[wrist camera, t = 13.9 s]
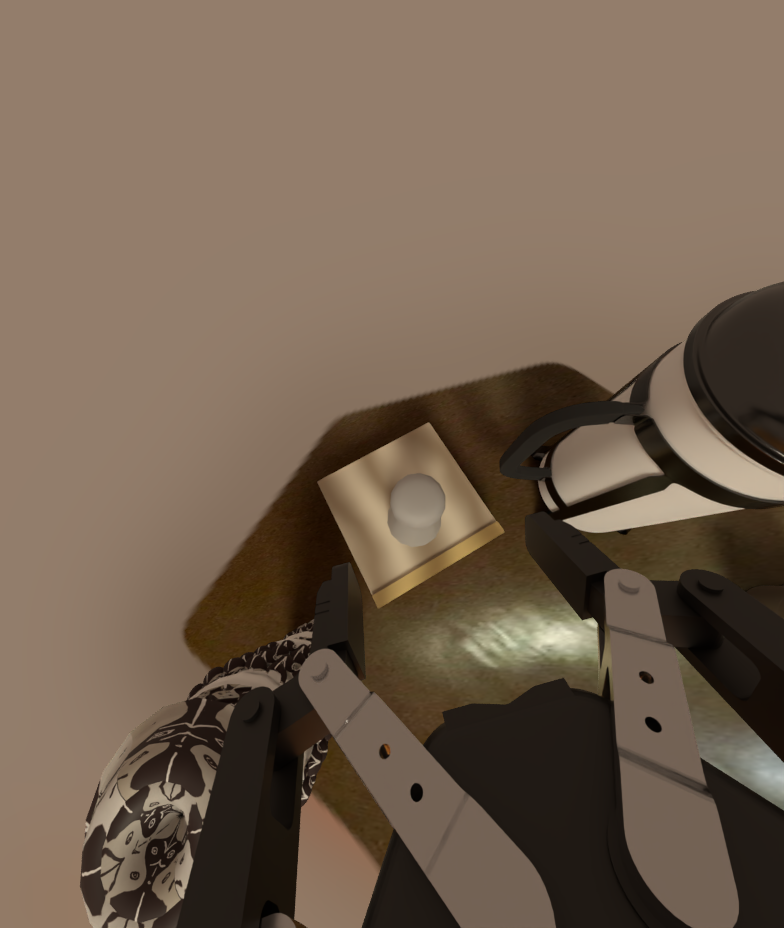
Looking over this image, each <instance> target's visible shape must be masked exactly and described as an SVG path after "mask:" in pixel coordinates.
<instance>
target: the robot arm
mask: <svg viewBox="0 0 784 928" xmlns="http://www.w3.org/2000/svg"><path fill="white" fill-rule="evenodd" d="M525 540H526V546H527V549H528V551H529V553H530V555H531V556H532V558H533V559H534V560H535V561H536V563H537V564H538V565H539V566H540V568H541V569H542V570H543V571H544V573H545V574H546V575H547V576H548V578H549V579H550V580H551V581H552V583H553V584H554V585H555V587H556V588H557V589H558V590H559V592H560V593H561V594H562V595H563V597H564V598H565V599H566V600H567V602H568V603H569V604H570V605H571V607H572V608H573V609H574V610H575V612H576V613H577V614H578V616H579V617H580V618H581V619H582V620H585V619H588V618H592V617H593V618H594V619H595V620H596V622H597V623H598V627H597V634H598V670H599V680H598V695H597V694H595V693H592V692H589V691H585V690H581V689H575V688H570V687H569V686H568V684H567V682H566V681H565V679H564V678H562V679H558V680H554V681H551V682H547V683H544V684H540V685H537V686H534V687H532V688H531V689H529V690H528V691H527V692H525V693H524V694H522V695H521V696H519V697H518V698H517V699H515V700H514V701H512V702H511V703H509V704H506V705H500V704H469V705H465V706H462V707H458V708H455V709H451V710H448V711H444V712H442V713H443V717H444V721H445V722H444V723H443V724H441V725H440V726H439V727H438V728H437V729H436V730H434V731H433V732H432V734H431V735H430V736H429V737H428V739H427V740H426V742H425V743H424V745H422V744H421V743H420V742H419V741H418V740H417V739H416V737H415V736H414V735H413V734H412V733H411V732H410V731H409V730H408V729H407V727H406V726H405V725H404V724H403V723H402V722H401V721H400V720H399V719H398V717H397V716H396V715H395V714H394V713H393V712H392V711H391V710H390V709H389V707H388V706H387V705H386V704H385V703H384V702H383V701H382V700H381V699H380V697H379V696H378V695H377V694H375V693H374V692H370V691H369V690H368V689H367V688H366V687H365V686H364V685H363V683H362V682H361V681H360V680H364V679H366V675H365V654H364V633H363V611H362V596H361V591H360V587H359V584H358V582H357V579H356V576H355V574H354V571H353V569H352V566H351V564H350V562H348V563H344V564H341V565H337V566H333V568H332V578H331V580H329V581H325V582H323V583H322V585H321V587H320V589H319V591H318V593H317V599H316V607H315V616H314V624H313V633H312V641H311V649H310V655H309V657H308V658H307V659H306V660H305V662H304V663H303V665H302V667H301V669H300V672H299V673H298V674H297V675H296V676H295V677H293V678H292V679H291V680H289V681H287V682H286V683H284V684H283V685H281V686H279V687H278V688H276V689H275V690H273V691H272V690H271V689H270V688H268V687H264V686H261V687H257V688H254V689H252V690H251V691H249V692H248V693H247V694H245V695H244V696H243V697H242V698H241V699H240V701H239V702H238V703H237V705H236V706H235V708H234V710H233V712H232V714H231V717H230V720H229V724H228V728H227V732H226V736H225V740H224V744H223V747H222V751H221V755H220V759H219V763H218V767H217V771H216V775H215V779H214V782H213V786H212V790H211V794H210V798H209V802H208V806H207V810H206V814H205V817H204V821H203V825H202V829H201V833H200V837H199V841H198V845H197V849H196V852H195V856H194V860H193V864H192V868H191V872H190V876H189V880H188V884H187V887H186V891H185V895H184V899H183V903H182V907H181V911H180V915H179V919H178V922H177V926H176V928H306V926H304V925H303V924H301V923H300V922H298V921H296V920H294V914H295V897H296V879H297V864H298V847H299V829H300V813H301V797H302V781H303V764H304V752H305V751H306V750H307V749H309V748H310V747H312V746H313V745H314V744H316V743H317V742H318V741H320V740H321V739H323V738H324V737H325V736H327V735H328V734H329V733H331V735H332V736H333V738H334V739H335V741H336V742H337V744H338V745H339V747H340V748H341V750H342V751H343V753H344V754H345V756H346V757H347V759H348V761H349V762H350V764H351V765H352V767H353V768H354V770H355V771H356V773H357V774H358V776H359V777H360V779H361V780H362V782H363V783H364V785H365V786H366V788H367V789H368V791H369V792H370V794H371V795H372V797H373V798H374V800H375V801H376V803H377V804H378V806H379V807H380V809H381V810H382V812H383V814H384V815H385V817H386V818H387V820H388V821H389V823H390V824H391V826H392V827H393V829H394V830H393V833H392V836H391V839H390V842H389V845H388V848H387V852H386V855H385V858H384V861H383V864H382V867H381V870H380V873H379V876H378V880H377V882H376V885H375V888H374V891H373V894H372V898H371V901H370V904H369V907H368V910H367V913H366V916H365V919H364V922H363V925H362V928H784V810H782V809H780V808H779V807H777V806H776V805H774V804H772V803H771V802H769V801H768V800H766V799H765V798H763V797H761V796H760V795H758V794H757V793H755V792H754V791H752V790H750V789H749V788H747V787H746V786H744V785H743V784H741V783H739V782H738V781H736V780H735V779H733V778H732V777H730V776H728V775H727V774H725V773H724V772H722V771H721V770H719V769H717V768H716V767H714V766H713V765H711V764H710V763H708V762H706V761H705V760H703V759H702V758H700V755H699V751H698V747H697V742H696V738H695V734H694V729H693V725H692V721H691V716H690V712H689V707H688V703H687V699H686V694H685V690H684V686H683V681H682V677H681V673H680V668H679V664H678V660H677V655H676V651H675V648H676V649H677V650H678V651H679V652H680V653H681V654H682V655H683V656H684V657H685V658H686V659H687V660H688V661H689V662H690V664H691V665H692V666H693V667H694V668H695V669H696V670H697V671H698V672H699V673H700V674H701V675H702V676H703V677H704V678H705V679H706V681H707V682H708V683H709V684H710V685H711V686H712V687H713V688H714V689H715V690H716V691H717V692H718V693H719V694H720V695H721V696H722V698H723V699H724V700H725V701H726V702H727V703H728V704H729V705H730V706H731V707H732V708H733V709H734V710H735V711H736V712H737V713H738V715H739V716H740V717H741V718H742V719H743V720H744V721H745V722H746V723H747V724H748V725H749V726H750V727H751V728H752V729H753V730H754V732H755V733H756V734H757V735H758V736H759V737H760V738H761V739H762V740H763V741H764V742H765V743H766V744H767V745H768V746H769V747H770V749H771V750H772V751H773V752H774V753H775V754H776V755H777V756H778V757H779V758H780V759H781V760H782V761H783V762H784V584H783V585H782V586H771V585H764V586H756V587H753V588H751V589H749V590H748V591H746V592H745V591H744V590H743V589H741V588H740V587H738V586H737V585H736V584H734V583H733V582H731V581H730V580H728V579H727V578H725V577H723V576H721V575H718V574H716V573H713V572H710V571H705V570H698V569H692V570H687V571H685V572H683V573H682V574H681V576H680V579H679V581H653V580H648V579H647V578H646V577H644V576H643V575H641V574H639V573H637V572H634V571H631V570H627V569H621V568H619V567H618V566H617V565H616V564H615V563H614V562H613V561H611V560H610V559H609V558H608V557H607V556H606V555H605V554H604V553H602V552H601V551H600V550H599V549H598V548H597V547H596V546H595V545H594V544H592V543H591V542H589V540H588V539H587V538H586V537H585V536H583V535H582V534H581V533H580V532H579V531H578V530H577V529H576V528H574V527H573V526H572V525H570V524H568V523H566V522H564V521H562V520H560V519H559V520H555V521H554V520H553V519H552V518H551V517H550V516H549V515H548V514H547V513H546V512H544V511H542V512H538V513H534V514H531V515H527V516H526V517H525ZM674 647H675V648H674Z"/></svg>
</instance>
